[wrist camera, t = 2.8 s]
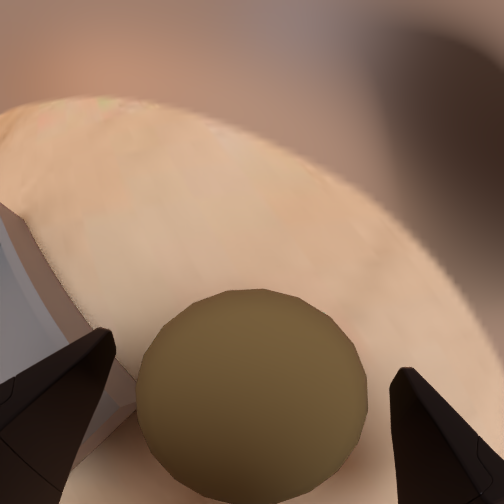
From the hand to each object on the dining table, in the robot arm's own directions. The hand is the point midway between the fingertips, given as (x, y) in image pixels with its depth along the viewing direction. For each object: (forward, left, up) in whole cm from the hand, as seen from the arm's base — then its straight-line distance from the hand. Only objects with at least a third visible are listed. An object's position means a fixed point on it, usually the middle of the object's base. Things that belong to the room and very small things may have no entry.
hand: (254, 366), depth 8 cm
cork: (-1, 0, -8) cm, 8 cm away
